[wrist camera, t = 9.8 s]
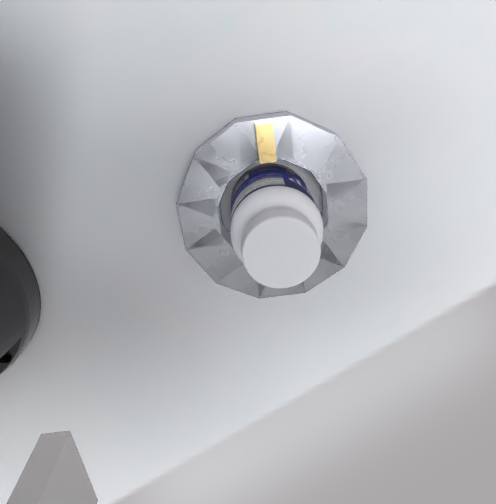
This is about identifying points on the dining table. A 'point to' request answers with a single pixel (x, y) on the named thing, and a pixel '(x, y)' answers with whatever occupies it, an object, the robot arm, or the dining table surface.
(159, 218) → the dining table surface
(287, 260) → the pill bottle
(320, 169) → the hub
